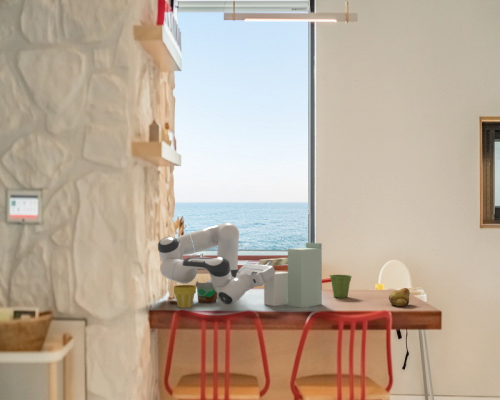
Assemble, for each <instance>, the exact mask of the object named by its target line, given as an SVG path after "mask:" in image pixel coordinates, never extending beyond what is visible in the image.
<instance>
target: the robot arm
mask: <svg viewBox="0 0 500 400" xmlns="http://www.w3.org/2000/svg"><path fill="white" fill-rule="evenodd" d="M239 236H240V231H239V228H238V227H237V225H235V224H233V223H231V222H223V223H220V224H216V225H213V226H209V227H206V228H202V229H199V230H195V231H191V232H188V233H185V234H182V235H180V236H178V237H176V238H175V237H172V236H166V237H164V238H162V239H161V240H160V241H158V243H157V250H158V253H159V257H160V261H161V264H160V268H159V270H160V271H159V272H160V274H161V275H162V276H163V277H165V278H166V279H168V280H170V281H173V282H175V283H180V284H182V285H188V284H190V283H192V282H193V281H194V279H195V278H196V276H197V274H198V270H204V271H206V272H208V274H209V276H210V279H209V280H207V281H206V282H205V283H212V284H213V287H214V290H215V292H216V293H217V298H218V299H220V301H221V302H222V303H223V304H225V305H231V304H234V303H235V302H237V301H238V300H239V299H240V298H242V297H243V296H245V293H247V292H249V291H250V290H251V289H253V288H257V287H264V282H266V281H267V280H269V279H270V278H271V277H272V276H273V275H274V274H275V272H276V270H275V268H274V266H270V265H271V264H272V263H271V261H268V262H266V263H267V264H266V265H259V262H257V263H248V262H247V263H245V264H243V265H242V266H241V267H240V268H239V265H238V264H239V260H238V259H239V257H238V256H239V254H238V253H239V244H240V243H239V238H240V237H239ZM216 247H217V253H216V255H217V256H216V257H202V256H201V257H199V256H191V257H190V256H189V257H187V258H185V259H184V257H183V256H187V255H192V254H196V253H199V252H202V251H208V250H210V249H212V248H213V249H214V248H216Z"/></svg>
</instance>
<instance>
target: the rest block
mask: <svg viewBox="0 0 500 400" xmlns="http://www.w3.org/2000/svg"><path fill="white" fill-rule="evenodd" d="M263 288H264V289H263V291H264V292H263V295H264V296H263V304H264V305H265V306H266V305H267V306H271V307H277V306H278V307H279V306H283V305H288V271H275V274H274V275H273V276H272V277H271V278H270V279H269V280H267V281H266V282H264V285H263Z"/></svg>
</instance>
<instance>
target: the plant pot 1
mask: <svg viewBox="0 0 500 400" xmlns="http://www.w3.org/2000/svg"><path fill="white" fill-rule="evenodd" d="M196 292H197V286H196V284H195V285H194V284H179V285H174V286H173V294H174V295H175V301H176V305H177V308H181V309H188V308H189V309H190V308H192V307H193V304H194V303H193V302H194V298H195V295H196Z"/></svg>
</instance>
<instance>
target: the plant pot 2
mask: <svg viewBox="0 0 500 400" xmlns="http://www.w3.org/2000/svg"><path fill="white" fill-rule="evenodd" d="M329 277H330V281H331V287H332V295H333V297H334V298H337V299H341V298H342V299H345V298H348V297H349V290H350V283H351V281H352V280H351V279H352V277H353V276H352V275H349V274H330V275H329Z"/></svg>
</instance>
